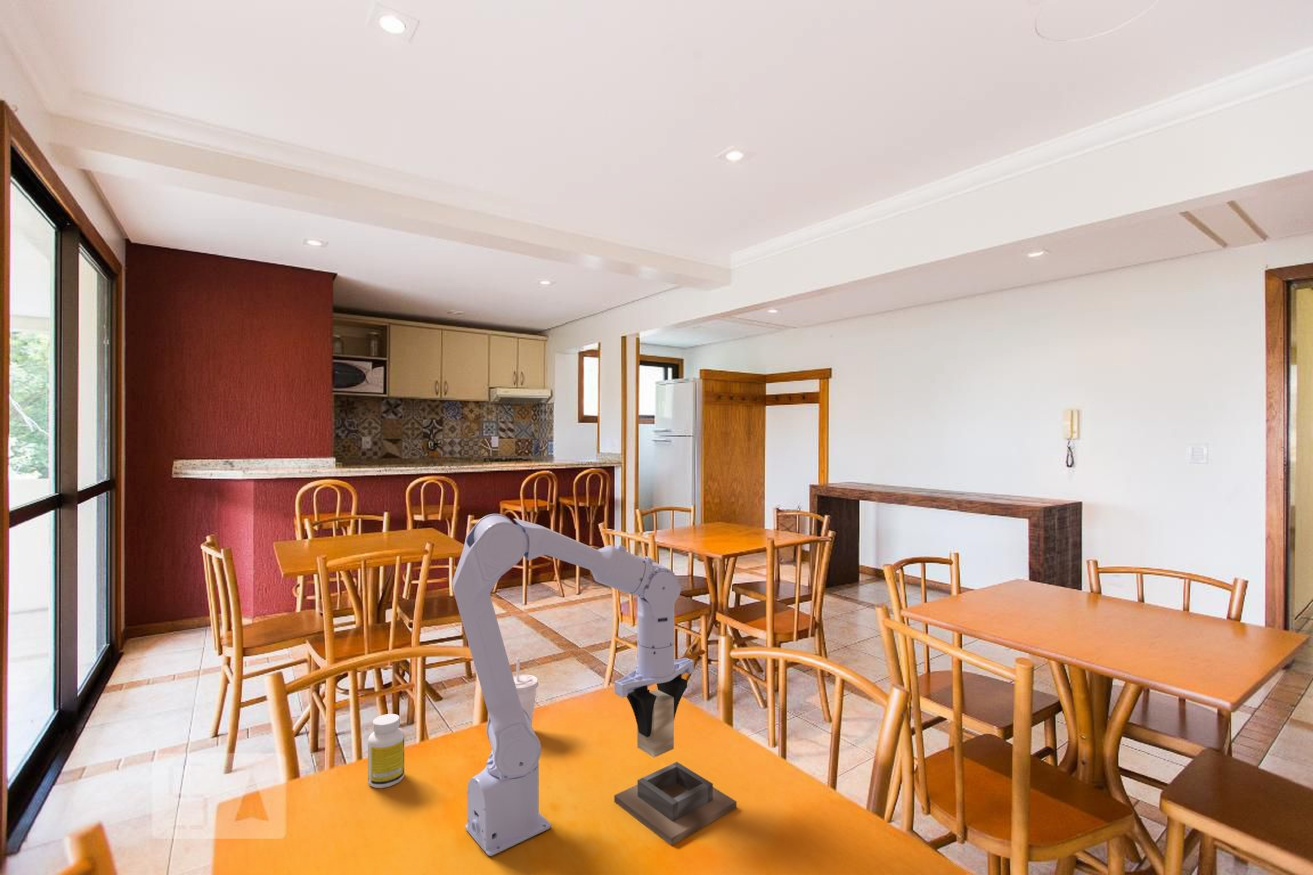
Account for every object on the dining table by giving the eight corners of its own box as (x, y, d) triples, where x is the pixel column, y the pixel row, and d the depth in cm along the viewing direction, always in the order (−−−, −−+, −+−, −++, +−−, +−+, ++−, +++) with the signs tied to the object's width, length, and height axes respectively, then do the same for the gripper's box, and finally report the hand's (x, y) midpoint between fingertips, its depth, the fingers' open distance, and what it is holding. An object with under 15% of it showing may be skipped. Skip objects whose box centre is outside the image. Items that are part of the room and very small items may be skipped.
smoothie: (500, 728, 118) (500, 654, 117) (533, 721, 120) (533, 649, 120) (507, 744, 112) (507, 666, 112) (542, 736, 114) (542, 660, 114)
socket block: (671, 845, 85) (671, 819, 85) (614, 801, 95) (614, 778, 94) (736, 807, 93) (736, 784, 93) (677, 771, 103) (677, 750, 103)
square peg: (654, 757, 94) (654, 704, 94) (637, 747, 97) (637, 696, 97) (673, 748, 97) (673, 697, 96) (656, 738, 100) (656, 689, 99)
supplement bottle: (410, 779, 101) (410, 718, 100) (376, 793, 97) (376, 730, 97) (395, 766, 104) (395, 708, 104) (362, 779, 100) (361, 719, 100)
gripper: (673, 626, 104) (673, 706, 104) (602, 645, 95) (602, 734, 95) (703, 636, 99) (703, 721, 99) (631, 658, 89) (631, 752, 90)
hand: (655, 729), depth 97 cm, fingers closed on square peg, 4 cm apart
